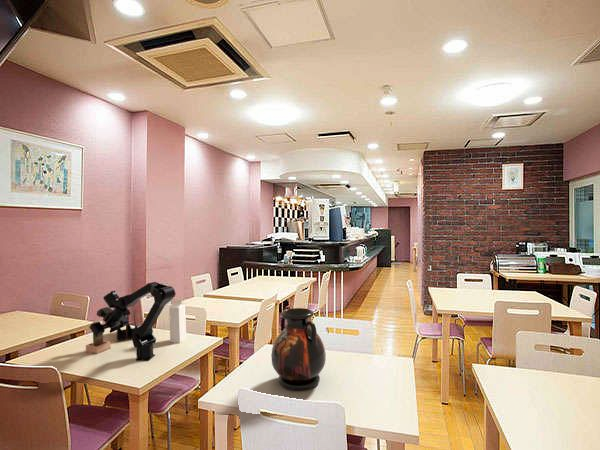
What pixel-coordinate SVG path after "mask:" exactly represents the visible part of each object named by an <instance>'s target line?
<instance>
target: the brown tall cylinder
mask: <svg viewBox="0 0 600 450" xmlns="http://www.w3.org/2000/svg"><path fill="white" fill-rule="evenodd" d="M95 322H100V323H101V324H102V325H103V322H104V321H102V320H95V321H92V323H95ZM93 335H94V333H93V332H92V336H93ZM103 341H104V333H103V334H102V335H100V336H99V337H97V338H95V339H94V338H93V337H92V343H93V346H99V345H102V344H103Z"/></svg>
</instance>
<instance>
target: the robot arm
mask: <svg viewBox="0 0 600 450" xmlns="http://www.w3.org/2000/svg"><path fill="white" fill-rule="evenodd" d="M149 294H150V295H151V297H153V300H154V302H153V304H152V306H151V308H150V309H149V311H148V313H147V315H146V317H145V319H144V320H143V322H142V323H141V324H137V325H138V326H136V327H135V326H134V327H133V328H134V331H133V332H132V333H133V334H132V340H131V341H132V343H133V347H134V349H135V351H136V359H135V361H143V362H144V361H146V362H147V361H148V362H149V361H150V360H151V359H153V358H154V357H155V356H156V354H155V353H154V345H153V344H155V343H156V342H157V338H156V337H155V335H154V334H153V333H154V331H153V327H154V325H155V324H156V322H157V320H158V319H159V316H160V315H161V313H162V312H163V310H164V308H165V306H166V305H168V304H169V303H170V302H171V301H173V300H174V297H175V296H176V290H175V288H174V287H173V286H171V285H167V284H162V283H159V282H156V281H153V282H152V281H151V282H148V283H146V284H145V285H144V286H142V287H141V288H139V289H137V290H136V291H133V292H132V293H130V294H127V295H123V296H121V297H120V296H119V295H118V294H117V292H116V290H112V291H110V292H108V293H107V294H106V295H104V296H103V298H102V299H103V300H104V302H105V304H106V305H107V307H102V308H100V309H98V310H97V311H96V316H97V317H99V318H102V320H103V322H104V324H103V325H102V324H101V323H100V322H95V321H94V322H95V323H93V322H92V323H90V325H89V329H90V330H91V332H92V339H93V338H94V339H95V338H97V337H99V336H100V335H102V334H103V335H104V333H105V331H106V330H107V329H110V330H109V333H110V334H112V333H114V332H115V331H116V332H117V330H118V329H122V328H124V327H126V325H128V323H129V324H130V321H129V320H130V319H129V320H128V319H127V315H129V316H130V315H131V312H130V309H129V308H130V307H134V306H135V305H136V304H138V302H139V300H141V299H143V298H144V297H146V296H148V295H149ZM112 308H113V309H112ZM93 333H94V335H93Z"/></svg>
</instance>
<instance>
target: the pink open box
mask: <svg viewBox="0 0 600 450" xmlns="http://www.w3.org/2000/svg"><path fill="white" fill-rule="evenodd" d="M110 349H111V341H107V340H103V344H102V345H99V346H93V342H91V343H89V344H86V345H85V352H86V353H90V354H95V355H97V354H99V353H103V352H104V351H108V350H110Z"/></svg>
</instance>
